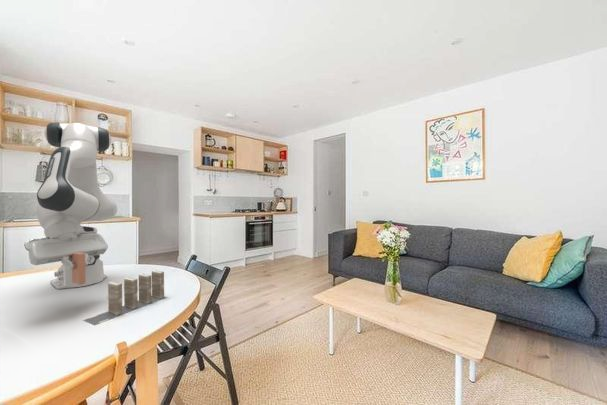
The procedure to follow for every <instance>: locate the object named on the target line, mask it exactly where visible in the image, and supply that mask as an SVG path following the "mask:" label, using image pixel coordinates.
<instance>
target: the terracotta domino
mask: <svg viewBox="0 0 607 405" xmlns="http://www.w3.org/2000/svg"><path fill="white" fill-rule="evenodd" d="M72 262H76V264H77V267H76V269H72V283H75V284H79V285H80V284H84V283H86V278H85V253H80V252H77V253H73V255H72Z"/></svg>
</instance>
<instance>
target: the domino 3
mask: <svg viewBox="0 0 607 405" xmlns="http://www.w3.org/2000/svg"><path fill="white" fill-rule="evenodd" d="M138 301H139V302H142V303H146V304H148V303H151V302H152V274H147V273H140V274H138Z"/></svg>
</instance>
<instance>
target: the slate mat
mask: <svg viewBox="0 0 607 405" xmlns="http://www.w3.org/2000/svg"><path fill="white" fill-rule="evenodd" d="M168 298H169V297H168V296H164V298H162V299H158V298H155V297H152V302H151V303H148V304H146V303H142V302H139V300H138V308H135V309H130V308H127V307H124V305H122V314H119V315H115V314H112V313H109V311H108V310H107V311H106V312H102V313H99V314H97V315H93V316H90V317H87V318H86V319H83V320H82V321H83V322H86V323H89V324H91V325H93V326H97V325H100V324H101V323H104V322H107V321H110V320H112V319H115V318H117V317H121V316H123V315H125V314H127V313H132V312H133V311H135V310H138V309H141V308H144V307H147V306H149V305H152V304H154V303H157V302H159V301H163V300H164V299H168Z"/></svg>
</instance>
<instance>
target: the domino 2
mask: <svg viewBox="0 0 607 405" xmlns="http://www.w3.org/2000/svg"><path fill="white" fill-rule="evenodd" d="M123 289H124V290H123V293H124V294H123V298H124V302H123V303H124V304H123V306H124V307H127V308H130V309H135V308H138V301H139V285H138V278H134V277H130V276H129V277H125V278H123Z"/></svg>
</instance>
